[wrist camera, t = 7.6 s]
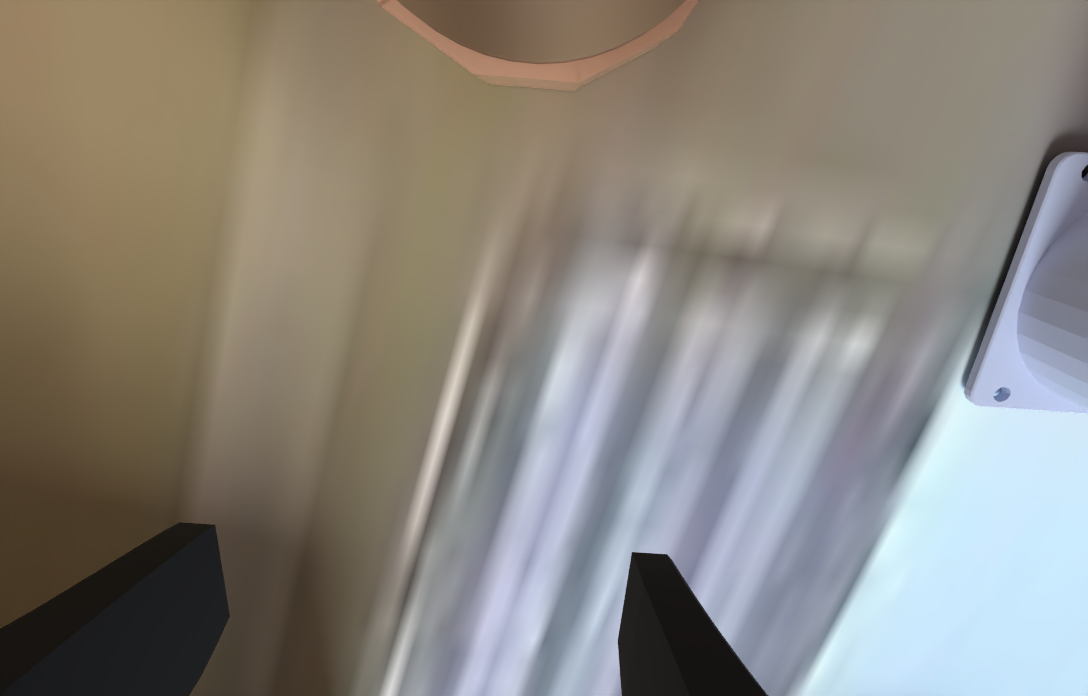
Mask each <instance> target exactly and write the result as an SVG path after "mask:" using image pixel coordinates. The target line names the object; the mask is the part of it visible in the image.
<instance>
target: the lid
mask: <svg viewBox="0 0 1088 696" xmlns="http://www.w3.org/2000/svg"><path fill="white" fill-rule="evenodd" d="M397 1H398V2H399V3H400V4H401V5H403V6H404V7H405V8H406V9H408V10H409V11H410V12H411V13H412V14H414V15H415V16H416V17H418V18H419V19H420V20H422V21H423V22H424V23H426V24H427V25H428V26H430V27H431V28H432V29H434V30H435V31H436V32H438V33H440V34H442V35H443V36H445V37H447V38H449V39H450V40H452V41H454V42H456V43H458V44H459V45H461V46H464V47H466V48H469V49H471V50H474V51H476V52H479V53H481V54H484V55H487V56H491V57H495V58H499V59H503V60H507V61H511V62H521V63H531V64H552V63H566V62H571V61H577V60H582V59H587V58H591V57H594V56H597V55H600V54H603V53H606V52H608V51H611V50H614V49H617V48H619V47H621V46H623V45H625V44H627V43H629V42H631V41H632V40H634V39H636V38H638V37H640V36H642V35H643V34H645V33H646V32H648V31H649V30H651V29H652V28H654V27H655V26H656V25H658V24H659V23H661V22H662V21H664V20H665V19H666V18H667V17H668V16H670V15H671V14H672V13H673V12H674V11H675V10H676V9H677V8H678V7H680V6H681V5H682V4H683V3H684V2H685V1H686V0H397Z"/></svg>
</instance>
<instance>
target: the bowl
mask: <svg viewBox="0 0 1088 696" xmlns="http://www.w3.org/2000/svg"><path fill="white" fill-rule="evenodd" d="M377 1H378V3H379V5H380V6H381V7H382V8H384V9H385V10H386V11H388V12H389V13H391V14H392V15H393V16H395V17H396V18H397V19H399V20H400V21H402V22H403V23H404V24H406V25H407V26H408V27H410V28H411V29H413V30H414V31H415V32H417V33H418V34H419V35H421V36H422V37H423V38H425V39H426V40H428V41H429V42H430V43H432V44H433V45H434V46H436V47H437V48H439V49H440V50H441V51H443V52H444V53H445V54H447V55H448V56H450V57H451V58H452V59H454V60H455V61H456V62H458V63H459V64H460V65H462V66H463V67H465V68H466V69H467V70H469V71H470V72H471V73H473V74H474V75H475V76H477V77H479V78H480V79H482V80H483V81H485V82H486V83H488V84H494V85H506V86H519V87H531V88H544V89H556V90H568V91H574V90H576V89H578V88H580V87H582V86H584V85H586V84H587V83H589V82H591V81H593V80H595V79H597V78H599V77H601V76H603V75H605V74H607V73H609V72H610V71H612V70H614V69H616V68H618V67H620V66H622V65H624V64H626V63H628V62H630V61H631V60H633V59H635V58H637V57H639V56H641V55H643V54H645V53H647V52H649V51H651V50H653V49H654V48H655V47H657V46H658V45H660V44H661V43H662V42H664V41H665V40H666V39H668V38H669V37H671V36H672V35H673V34H675V33H676V32H678V31H679V29H680V28H681V27H682V25H683V24H684V22H685V21H686V19H687V18H688V16H689V15H690V13H691V12H692V10H693V9H694V7H695V6H696V4H697V3H698V1H699V0H686V1H685V2H684V3H683V4H682V5H681V6H680V7H678V8H677V9H676V10H675V11H674V12H673V13H672V14H671V15H670V16H668V17H667V18H666V19H665V20H664V21H662V22H661V23H659V24H658V25H656V26H655V27H654V28H652V29H651V30H649V31H648V32H646V33H645V34H643V35H642V36H640V37H638V38H636V39H634V40H632V41H631V42H629V43H627V44H625V45H623V46H621V47H619V48H617V49H614V50H611V51H608V52H606V53H603V54H600V55H597V56H594V57H591V58H587V59H582V60H577V61H571V62H566V63H552V64H531V63H521V62H511V61H507V60H503V59H499V58H495V57H491V56H487V55H484V54H481V53H479V52H476V51H474V50H471V49H469V48H466V47H464V46H461V45H459V44H458V43H456V42H454V41H452V40H450V39H449V38H447V37H445V36H443V35H442V34H440V33H438V32H436V31H435V30H434V29H432V28H431V27H430V26H428V25H427V24H426V23H424V22H423V21H422V20H420V19H419V18H418V17H416V16H415V15H414V14H412V13H411V12H410V11H409V10H408V9H406V8H405V7H404V6H403V5H401V4H400V3H399V2H398V1H397V0H377Z"/></svg>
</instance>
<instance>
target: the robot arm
mask: <svg viewBox="0 0 1088 696" xmlns="http://www.w3.org/2000/svg"><path fill="white" fill-rule="evenodd" d="M1087 165H1088V153H1085V152H1064V153H1062V154H1060V155H1058V156H1056V157H1055V158H1054V159H1053V160H1052V161H1051V162H1050V164H1049V165H1048V167H1047V169H1046V172H1045V175H1044V177H1043V180H1042V183H1041V185H1040V188H1039V191H1038V193H1037V196H1036V199H1035V201H1034V204H1033V207H1032V209H1031V212H1030V215H1029V218H1028V220H1027V223H1026V226H1025V228H1024V231H1023V234H1022V236H1021V239H1020V242H1019V244H1018V247H1017V250H1016V252H1015V255H1014V258H1013V260H1012V263H1011V266H1010V269H1009V271H1008V274H1007V277H1006V279H1005V282H1004V285H1003V287H1002V290H1001V293H1000V295H999V298H998V301H997V303H996V306H995V309H994V311H993V314H992V317H991V319H990V322H989V325H988V328H987V330H986V333H985V336H984V338H983V341H982V344H981V346H980V349H979V352H978V354H977V357H976V360H975V362H974V365H973V368H972V370H971V373H970V376H969V378H968V381H967V384H966V387H965V391H964V394H965V397H966V398H967V399H968V400H969V401H970V402H972V403H973V404H975V405H978V406H982V407H996V408H1011V409H1025V410H1039V411H1053V412H1067V413H1081V414H1088V173H1087V175H1086V176H1085V177H1084V178H1082V177H1081V175H1082V171H1083V169H1084V168H1085V166H1087ZM1000 388H1002V389H1001V391H1000V393H999V394H997V395H996V396H994V393H995V392H996V391H997V390H998V389H1000ZM229 617H230V615H229V609H228V602H227V596H226V590H225V584H224V578H223V571H222V565H221V559H220V553H219V547H218V540H217V534H216V528H215V525H209V524H194V523H178V524H176V525H174V526H172V527H170V528H169V529H167V530H165V531H163V532H162V533H160V534H158V535H156V536H155V537H153V538H151V539H150V540H148V541H146V542H145V543H143V544H141V545H140V546H138V547H136V548H135V549H133V550H131V551H130V552H128V553H127V554H125V555H123V556H122V557H120V558H118V559H117V560H115V561H114V562H112V563H110V564H109V565H107V566H105V567H104V568H102V569H101V570H99V571H97V572H96V573H94V574H92V575H91V576H89V577H87V578H86V579H84V580H82V581H81V582H79V583H78V584H76V585H74V586H73V587H71V588H69V589H68V590H66V591H64V592H63V593H61V594H59V595H58V596H56V597H54V598H53V599H51V600H49V601H48V602H46V603H45V604H43V605H41V606H40V607H38V608H36V609H35V610H33V611H31V612H29V613H28V614H26V615H24V616H22V617H21V618H19V619H17V620H15V621H14V622H12V623H10V624H8V625H7V626H5V627H3V628H1V629H0V696H189V695H190V693H191V692H192V690H193V688H194V687H195V685H196V683H197V682H198V680H199V679H200V677H201V675H202V673H203V671H204V669H205V667H206V665H207V663H208V661H209V659H210V657H211V655H212V653H213V651H214V649H215V647H216V645H217V642H218V640H219V638H220V636H221V634H222V632H223V630H224V627H225V625H226V623H227V621H228V619H229ZM618 648H619V663H620V677H621V689H622V696H768V695H767V694H766V692H765V691H764V690H763V689H762V688H761V686H760V685H759V684H758V682H757V681H756V680H755V678H754V677H753V676H752V675H751V673H750V672H749V671H748V669H747V668H746V667H745V665H744V664H743V663H742V661H741V660H740V659H739V657H738V656H737V655H736V653H735V652H734V651H733V649H732V648H731V646H730V645H729V644H728V642H727V641H726V640H725V638H724V637H723V636H722V634H721V633H720V631H719V630H718V629H717V627H716V626H715V624H714V623H713V622H712V620H711V619H710V617H709V616H708V614H707V613H706V611H705V610H704V608H703V607H702V605H701V604H700V603H699V601H698V600H697V598H696V597H695V595H694V594H693V592H692V591H691V589H690V587H689V586H688V584H687V583H686V581H685V580H684V578H683V577H682V575H681V574H680V572H679V570H678V569H677V567H676V566H675V564H674V563H673V561H672V560H671V559H670V557H669V556H668V555H667V554H652V553H636V552H632V556H631V562H630V569H629V575H628V581H627V587H626V594H625V600H624V606H623V612H622V618H621V625H620V631H619V637H618Z"/></svg>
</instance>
